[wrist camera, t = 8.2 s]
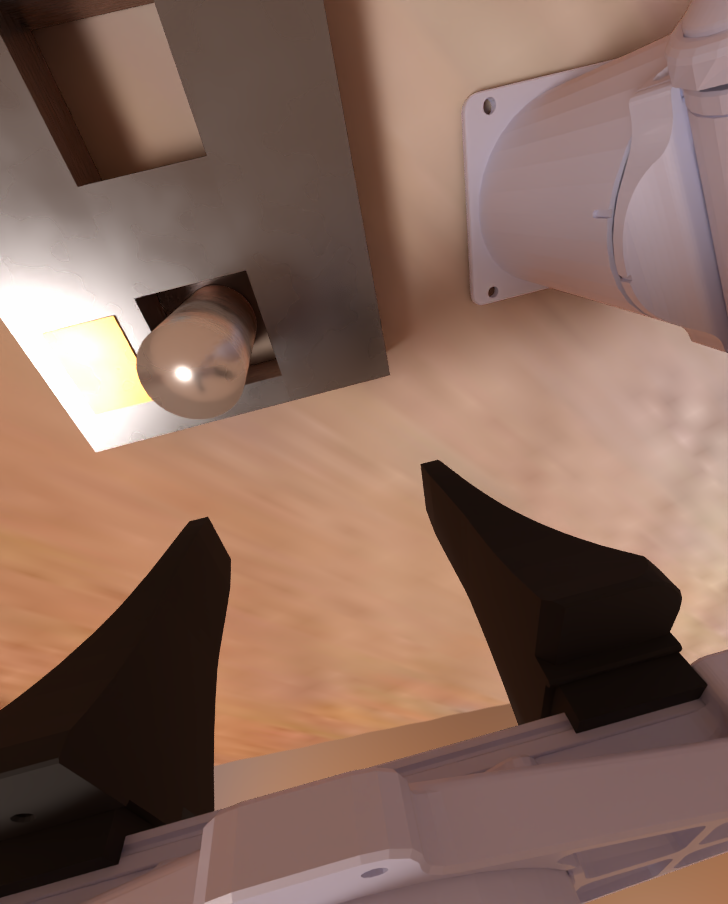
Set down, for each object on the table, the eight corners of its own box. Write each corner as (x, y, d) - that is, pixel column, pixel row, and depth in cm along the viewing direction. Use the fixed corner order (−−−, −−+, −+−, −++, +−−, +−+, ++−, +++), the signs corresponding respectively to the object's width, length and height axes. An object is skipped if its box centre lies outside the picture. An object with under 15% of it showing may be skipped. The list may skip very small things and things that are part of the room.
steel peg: (238, 274, 17) (215, 307, 11) (267, 342, 19) (261, 400, 13) (170, 298, 17) (112, 342, 11) (206, 364, 19) (172, 431, 13)
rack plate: (293, -94, 12) (295, -160, 10) (379, 358, 20) (390, 375, 18) (-156, 5, 12) (-256, -41, 10) (115, 426, 20) (94, 453, 18)
